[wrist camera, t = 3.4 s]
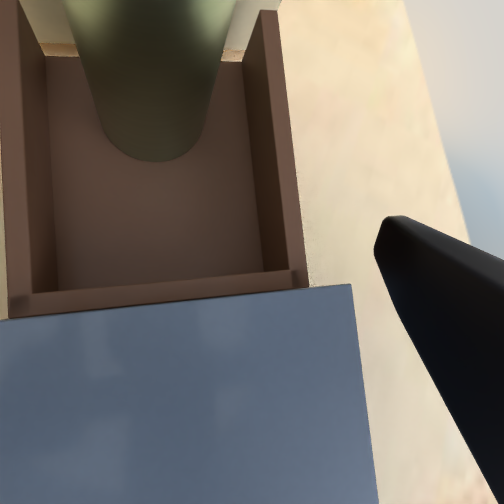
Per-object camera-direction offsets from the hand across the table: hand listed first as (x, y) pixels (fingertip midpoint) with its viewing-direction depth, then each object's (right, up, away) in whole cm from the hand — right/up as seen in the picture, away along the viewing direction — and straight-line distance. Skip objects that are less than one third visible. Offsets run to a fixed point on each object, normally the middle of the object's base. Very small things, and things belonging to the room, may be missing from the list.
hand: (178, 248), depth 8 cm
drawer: (-4, +7, +13) cm, 15 cm away
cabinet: (-2, -10, +12) cm, 16 cm away
